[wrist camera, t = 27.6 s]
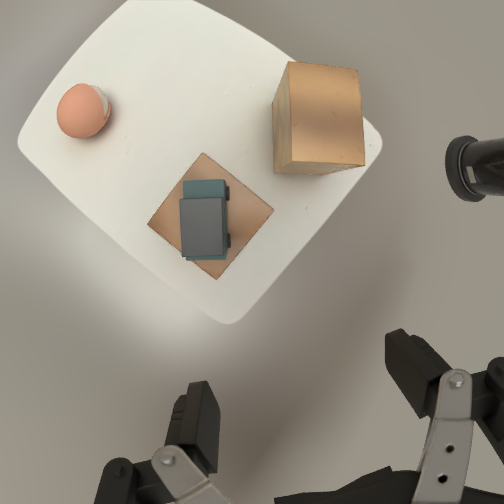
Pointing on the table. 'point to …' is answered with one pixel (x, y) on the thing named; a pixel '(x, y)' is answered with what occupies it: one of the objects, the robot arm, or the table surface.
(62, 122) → the toy ball
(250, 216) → the mat
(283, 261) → the table surface
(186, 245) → the toy van
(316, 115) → the wooden block
